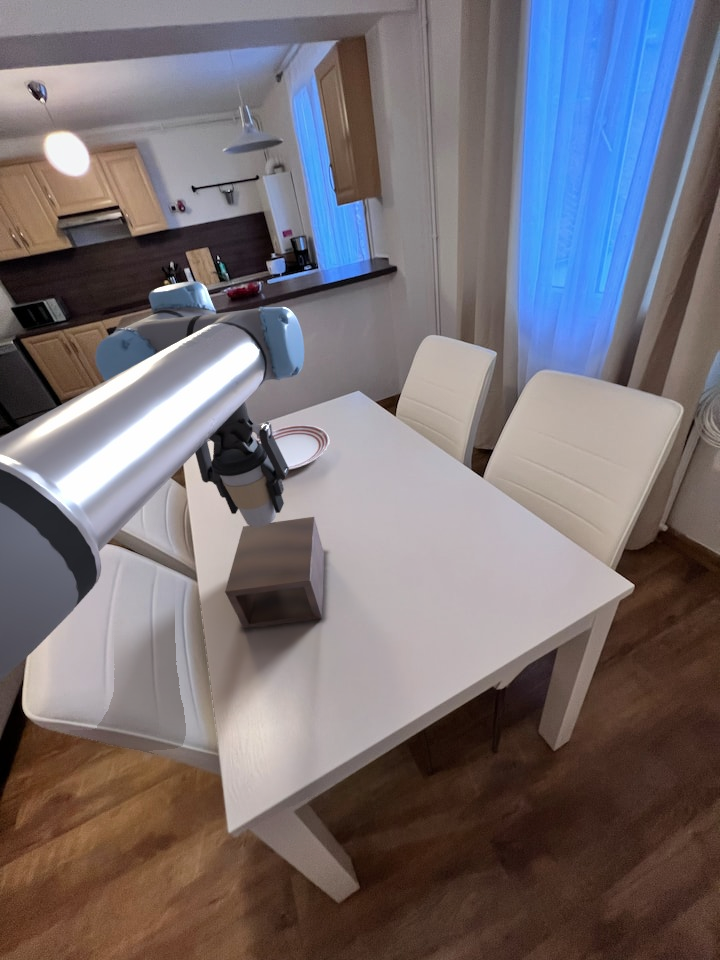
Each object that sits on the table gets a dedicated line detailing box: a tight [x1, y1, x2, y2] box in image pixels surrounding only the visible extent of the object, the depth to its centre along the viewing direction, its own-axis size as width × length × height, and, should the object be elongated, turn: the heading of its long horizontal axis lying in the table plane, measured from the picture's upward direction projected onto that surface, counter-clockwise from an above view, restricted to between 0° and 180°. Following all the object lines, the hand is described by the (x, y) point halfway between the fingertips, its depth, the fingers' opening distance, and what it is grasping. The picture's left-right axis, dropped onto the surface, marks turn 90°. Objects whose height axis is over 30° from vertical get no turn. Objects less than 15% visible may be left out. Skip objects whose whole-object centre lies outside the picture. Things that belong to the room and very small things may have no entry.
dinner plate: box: [256, 424, 330, 471], centre depth 134 cm, size 28×27×3 cm
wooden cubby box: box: [224, 516, 325, 629], centre depth 84 cm, size 18×16×12 cm
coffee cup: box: [211, 439, 278, 527], centre depth 71 cm, size 9×9×15 cm
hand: (257, 508), depth 74 cm, fingers closed on coffee cup, 8 cm apart
